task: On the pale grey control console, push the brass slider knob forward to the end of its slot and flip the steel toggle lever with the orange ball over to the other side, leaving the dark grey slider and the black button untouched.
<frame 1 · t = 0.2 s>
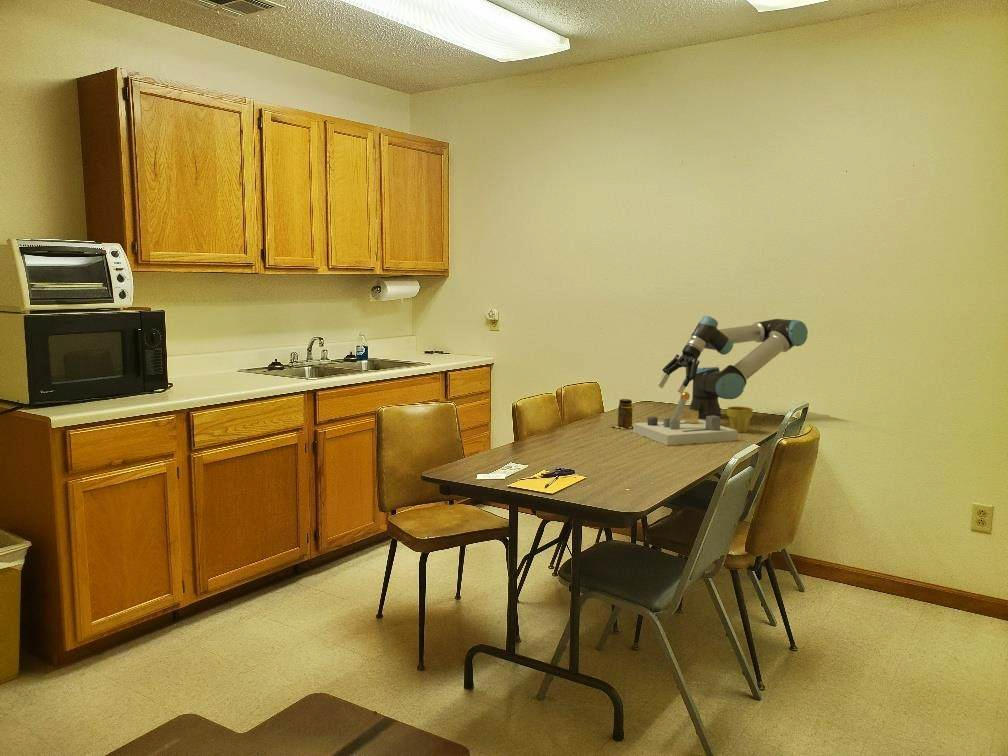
hand: (669, 389, 336), 16 cm above the table, tool tilted 35°, fingers open, 13 cm apart
console: (683, 436, 313), on the table
grey slider: (713, 422, 308), point 7 cm above the table, slide at 0.0 cm
condiment: (623, 428, 332), on the table
toggle lever: (679, 408, 311), point 12 cm above the table, hinge at -28.0°
plant pot: (738, 431, 326), on the table
brass slider: (691, 416, 322), point 7 cm above the table, slide at 0.0 cm
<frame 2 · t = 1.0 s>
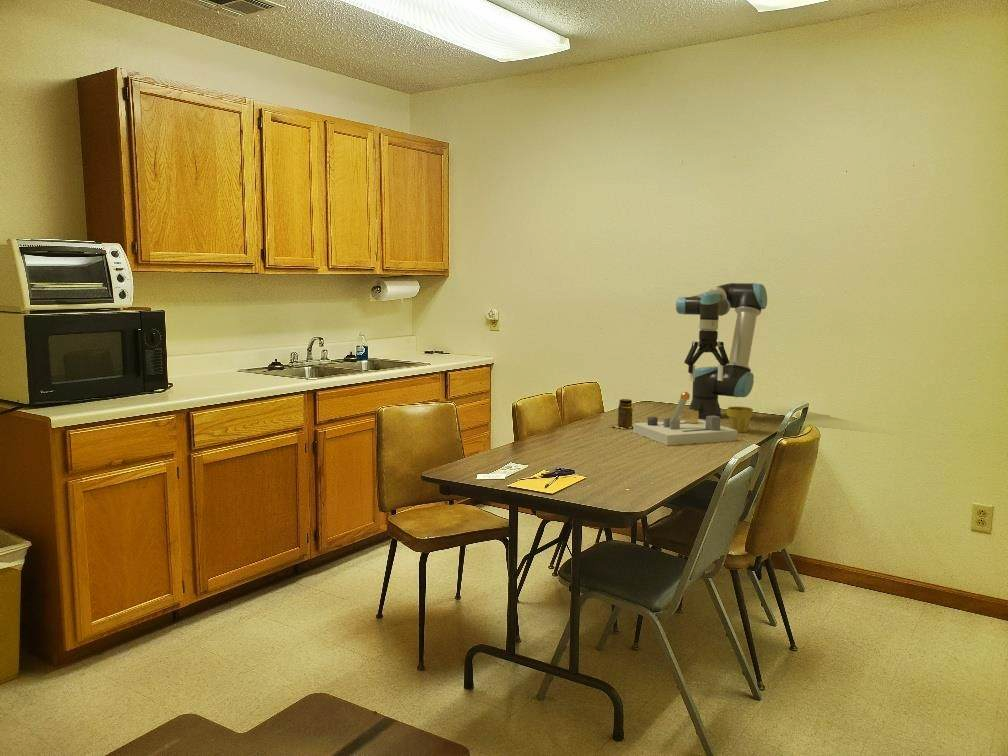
hand: (706, 380, 323), 21 cm above the table, tool pointing down, fingers open, 13 cm apart
nothing on the table moved.
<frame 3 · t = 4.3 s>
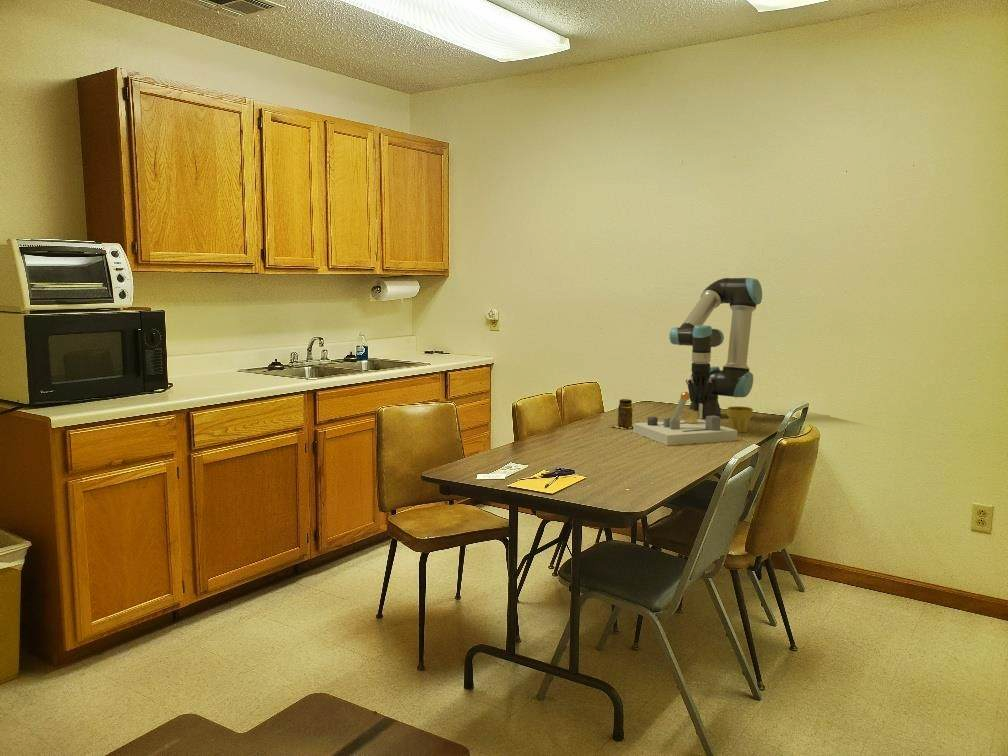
hand: (698, 418, 323), 6 cm above the table, tool pointing down, fingers closed
brass slider: (690, 416, 322), point 7 cm above the table, slide at 0.4 cm, touching gripper
everything else where it was.
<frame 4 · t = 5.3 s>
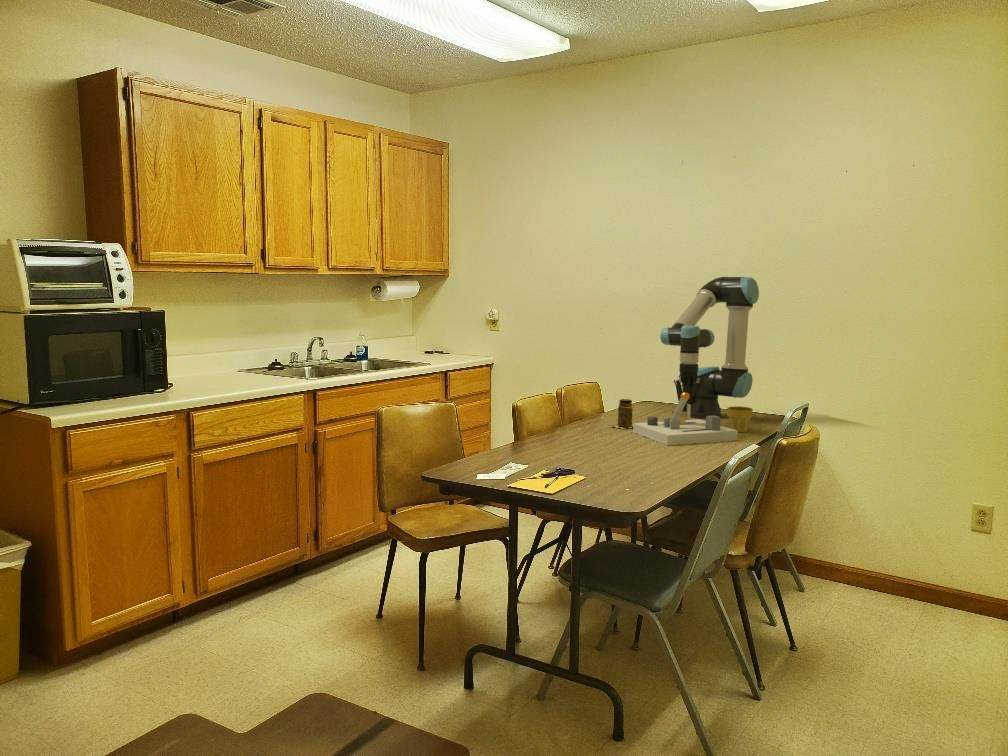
hand: (686, 419, 321), 6 cm above the table, tool pointing down, fingers closed
brass slider: (678, 417, 320), point 7 cm above the table, slide at 6.2 cm, touching gripper
everything else where it was.
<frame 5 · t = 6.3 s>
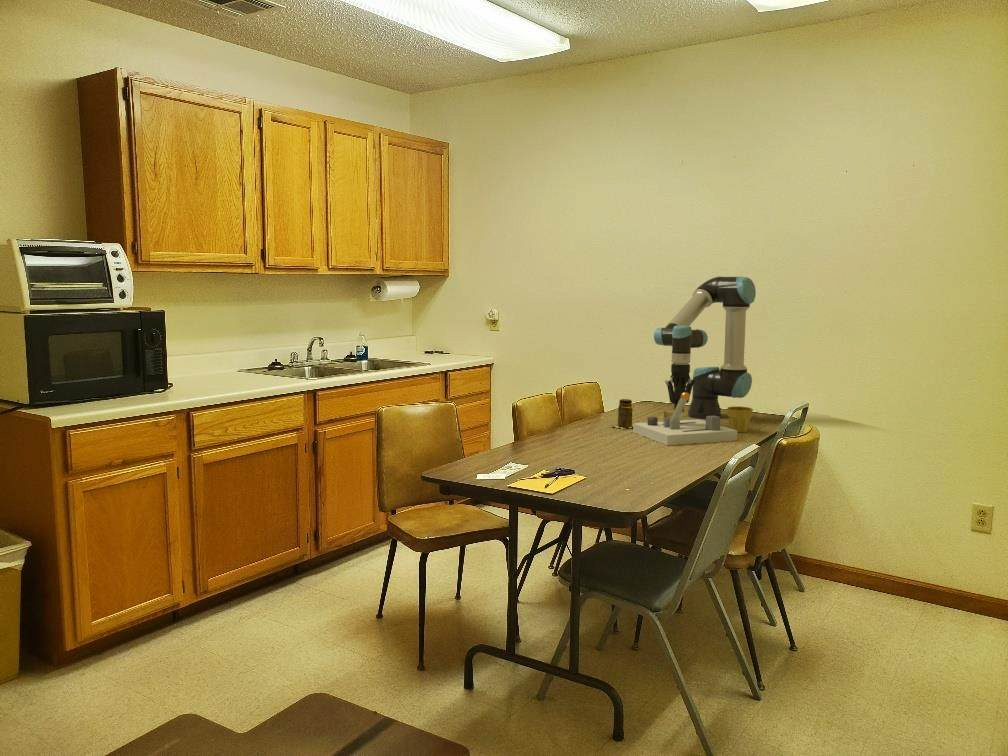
hand: (678, 420, 320), 6 cm above the table, tool pointing down, fingers closed
brass slider: (670, 417, 318), point 7 cm above the table, slide at 10.1 cm, touching gripper
everything else where it was.
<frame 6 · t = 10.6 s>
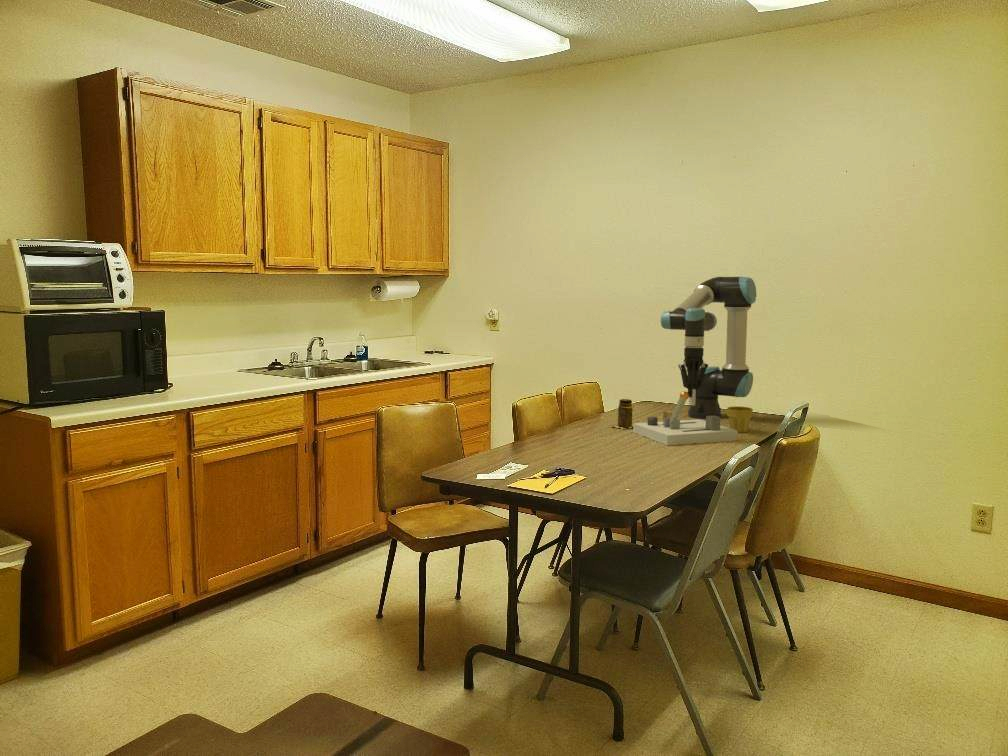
hand: (691, 404, 313), 13 cm above the table, tool pointing down, fingers closed
toggle lever: (678, 407, 311), point 12 cm above the table, hinge at -25.9°, touching gripper
brass slider: (670, 417, 318), point 7 cm above the table, slide at 10.4 cm
everything else where it was.
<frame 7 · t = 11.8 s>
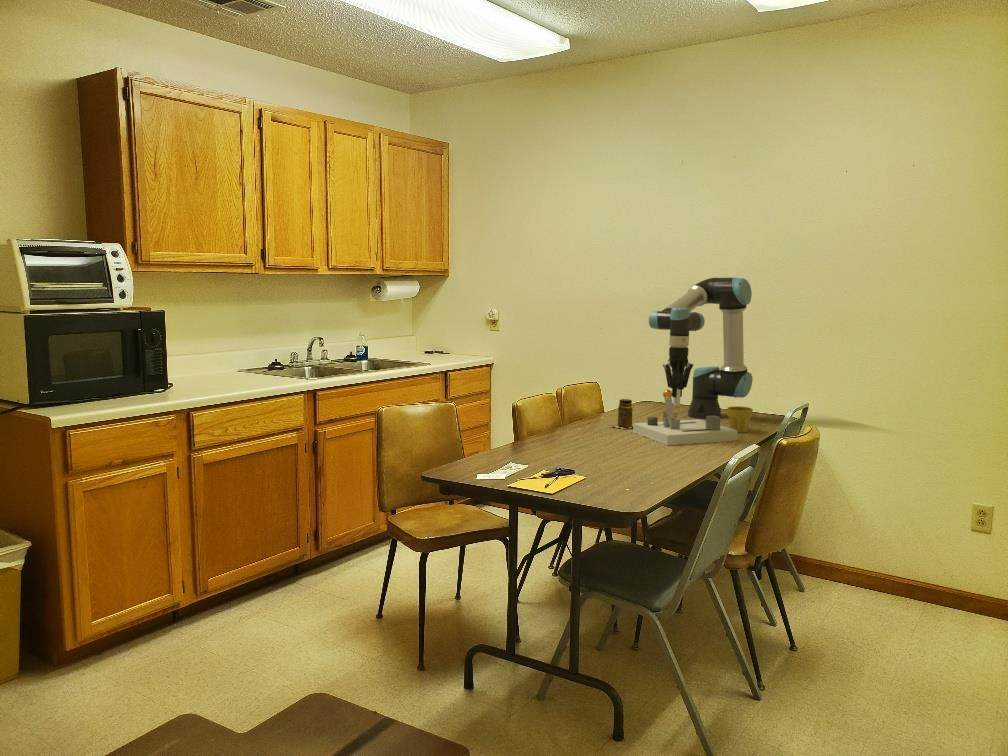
hand: (676, 405, 310), 13 cm above the table, tool pointing down, fingers closed
toggle lever: (669, 407, 309), point 13 cm above the table, hinge at 11.3°, touching gripper
everything else where it was.
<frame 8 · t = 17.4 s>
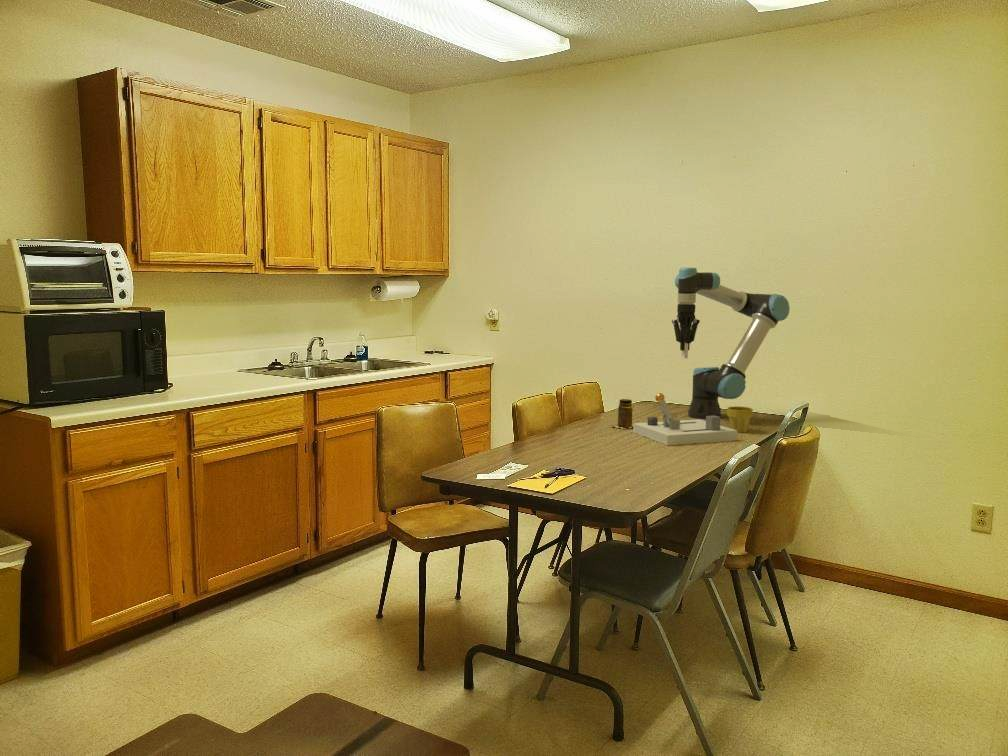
hand: (684, 358, 336), 29 cm above the table, tool pointing down, fingers closed
toggle lever: (664, 409, 309), point 12 cm above the table, hinge at 28.1°
everything else where it was.
at the end: brass slider slide at 10.4 cm; toggle lever at +28° (first picture: -28°); grey slider slide at 0.0 cm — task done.
